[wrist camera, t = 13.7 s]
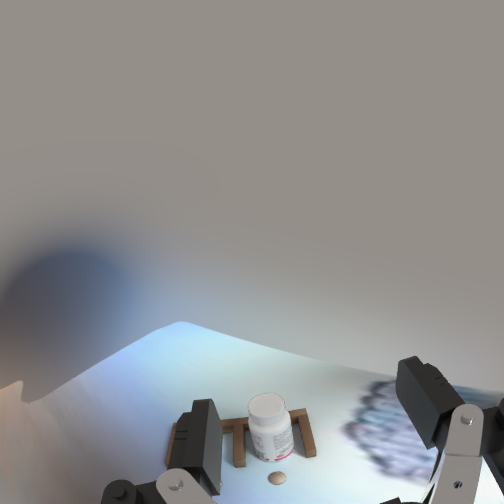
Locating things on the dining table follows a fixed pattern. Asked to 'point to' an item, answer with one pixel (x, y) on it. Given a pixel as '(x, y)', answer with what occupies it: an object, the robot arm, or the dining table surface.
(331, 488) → the dining table surface
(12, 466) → the dining table surface
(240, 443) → the slot rack
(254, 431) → the pill bottle
